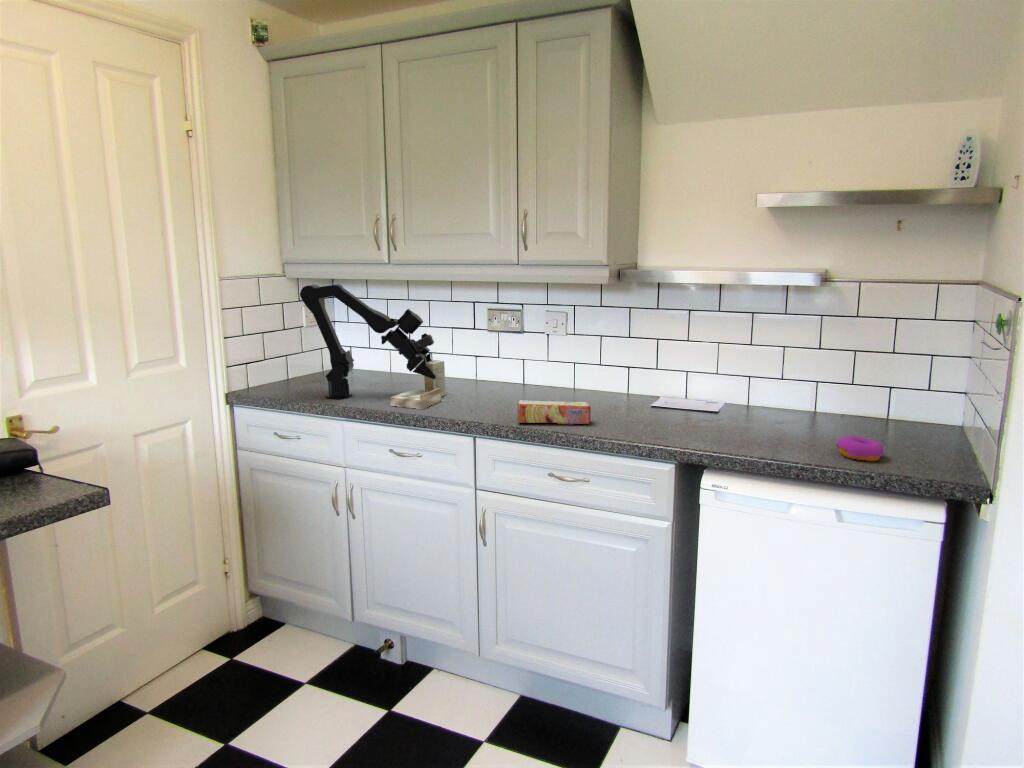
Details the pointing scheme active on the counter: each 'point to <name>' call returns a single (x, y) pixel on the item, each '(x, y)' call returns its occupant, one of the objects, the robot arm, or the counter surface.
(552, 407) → the snack package
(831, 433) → the counter surface
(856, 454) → the donut
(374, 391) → the counter surface
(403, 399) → the stand
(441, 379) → the skincare box
